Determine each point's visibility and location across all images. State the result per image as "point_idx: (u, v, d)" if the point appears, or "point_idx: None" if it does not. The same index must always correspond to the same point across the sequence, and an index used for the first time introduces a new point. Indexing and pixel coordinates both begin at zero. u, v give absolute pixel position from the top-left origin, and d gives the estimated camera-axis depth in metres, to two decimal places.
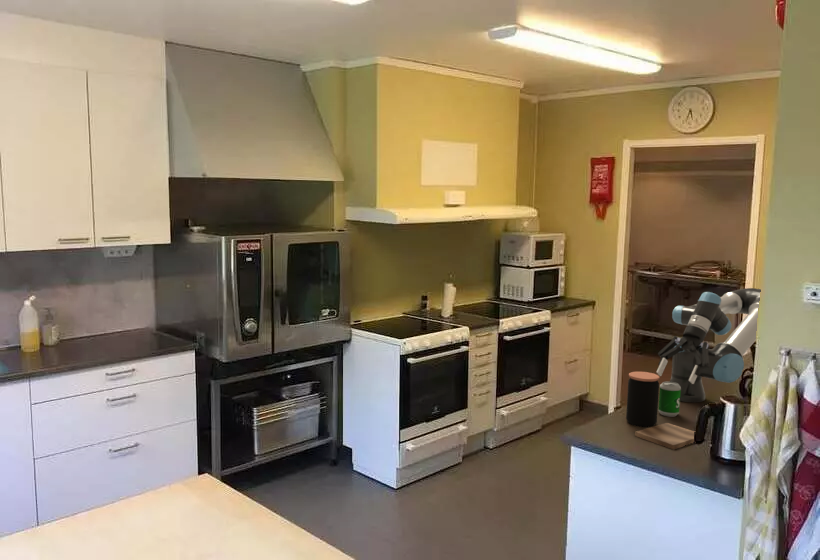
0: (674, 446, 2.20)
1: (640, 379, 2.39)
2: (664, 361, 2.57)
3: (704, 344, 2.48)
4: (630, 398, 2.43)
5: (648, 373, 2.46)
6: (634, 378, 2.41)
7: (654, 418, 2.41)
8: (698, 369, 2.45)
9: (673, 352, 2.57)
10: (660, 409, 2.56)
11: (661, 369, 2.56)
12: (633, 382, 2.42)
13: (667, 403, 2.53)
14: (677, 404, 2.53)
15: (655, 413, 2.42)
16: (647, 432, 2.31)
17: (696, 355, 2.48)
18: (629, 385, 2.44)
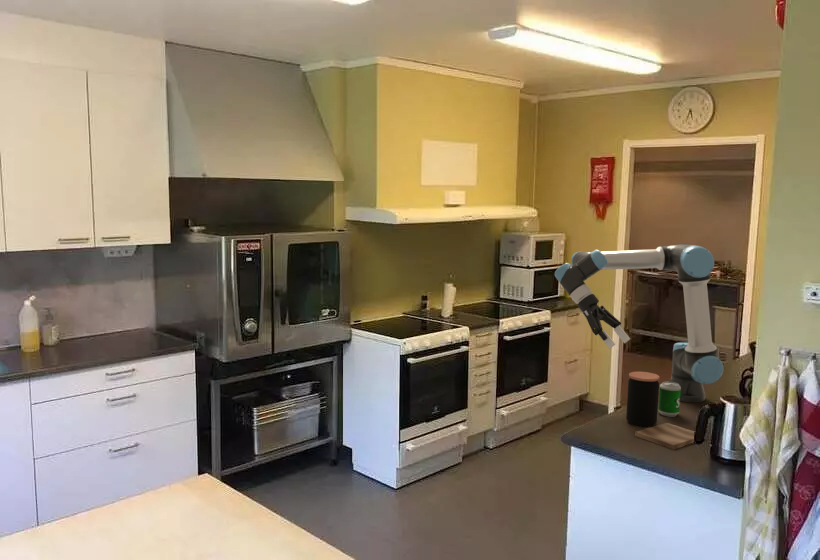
0: (674, 446, 2.20)
1: (640, 379, 2.39)
2: (616, 330, 2.56)
3: None
4: (630, 398, 2.43)
5: (648, 373, 2.46)
6: (634, 378, 2.41)
7: (654, 418, 2.41)
8: None
9: (608, 321, 2.56)
10: (660, 409, 2.56)
11: (623, 337, 2.55)
12: (633, 382, 2.42)
13: (667, 403, 2.53)
14: (677, 404, 2.53)
15: (655, 413, 2.42)
16: (647, 432, 2.31)
17: None
18: (629, 385, 2.44)
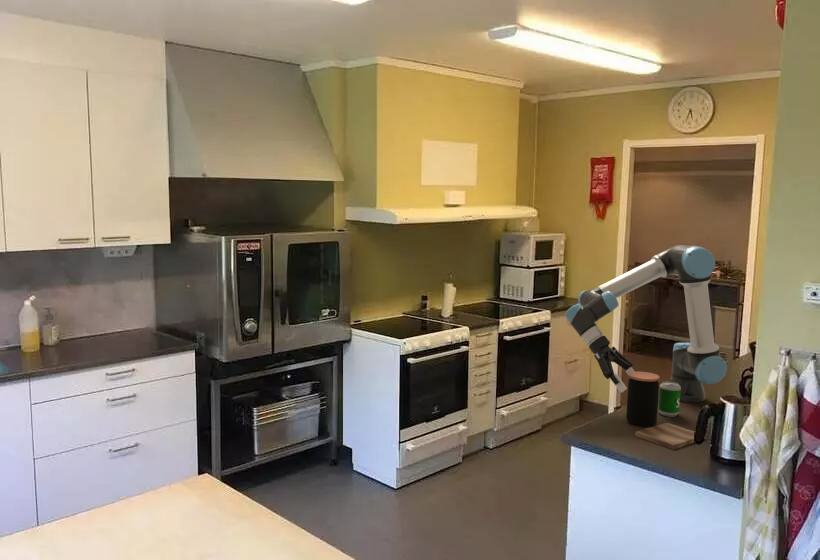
0: (674, 446, 2.20)
1: (640, 379, 2.39)
2: (628, 372, 2.53)
3: None
4: (630, 398, 2.43)
5: (648, 373, 2.46)
6: (634, 378, 2.41)
7: (654, 418, 2.41)
8: None
9: (619, 363, 2.54)
10: (660, 409, 2.56)
11: None
12: (633, 382, 2.42)
13: (667, 403, 2.53)
14: (677, 404, 2.53)
15: (655, 413, 2.42)
16: (647, 432, 2.31)
17: None
18: (629, 385, 2.44)
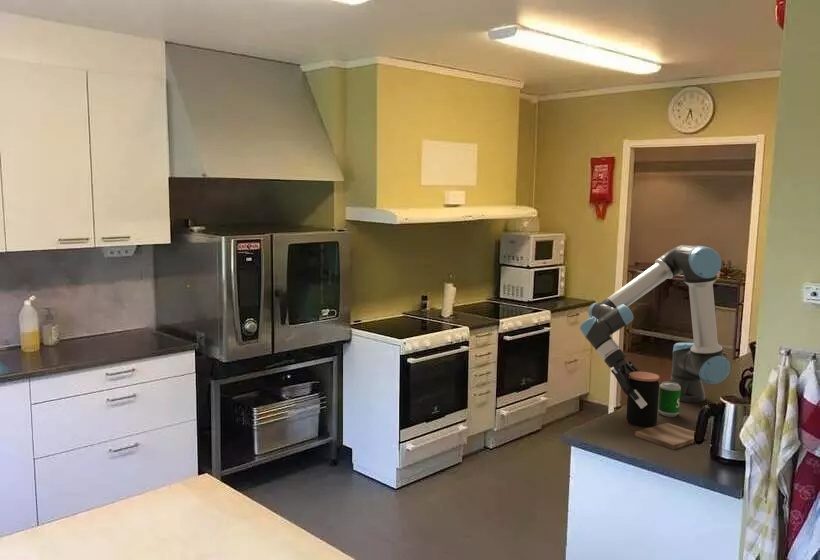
0: (674, 446, 2.20)
1: (640, 379, 2.39)
2: None
3: None
4: (630, 398, 2.43)
5: (648, 373, 2.46)
6: (634, 378, 2.41)
7: (654, 418, 2.41)
8: None
9: None
10: (660, 409, 2.56)
11: None
12: (633, 382, 2.42)
13: (667, 403, 2.53)
14: (677, 404, 2.53)
15: (655, 413, 2.42)
16: (647, 432, 2.31)
17: None
18: None
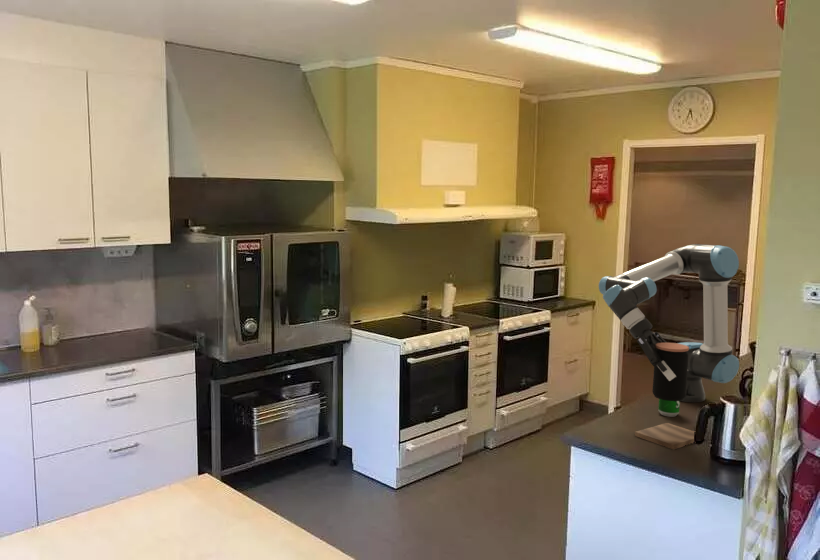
0: (674, 446, 2.20)
1: (668, 349, 2.24)
2: None
3: None
4: (657, 370, 2.28)
5: (676, 344, 2.31)
6: (662, 348, 2.26)
7: (683, 392, 2.26)
8: None
9: None
10: (660, 409, 2.56)
11: None
12: (660, 353, 2.26)
13: (667, 403, 2.53)
14: (677, 404, 2.53)
15: (684, 387, 2.26)
16: (647, 432, 2.31)
17: None
18: None
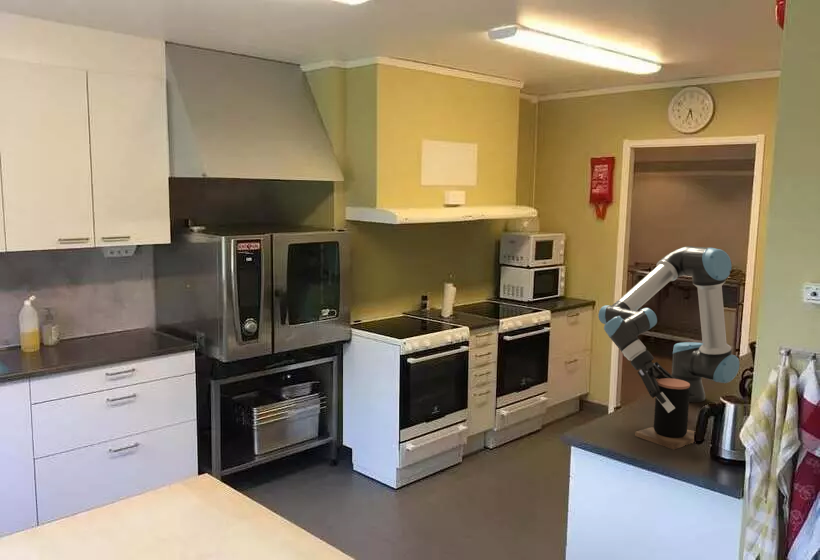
0: (674, 446, 2.20)
1: (670, 387, 2.24)
2: None
3: None
4: (658, 407, 2.28)
5: (677, 380, 2.31)
6: (663, 386, 2.26)
7: (684, 428, 2.26)
8: None
9: None
10: None
11: None
12: (662, 390, 2.27)
13: None
14: None
15: (686, 423, 2.27)
16: (647, 432, 2.31)
17: None
18: None
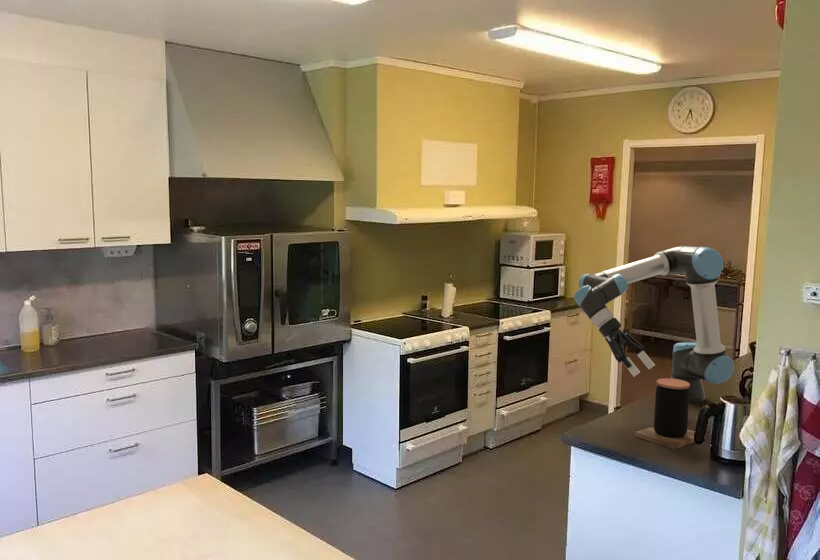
0: (674, 446, 2.20)
1: (669, 387, 2.25)
2: (640, 356, 2.42)
3: None
4: (658, 407, 2.28)
5: (677, 380, 2.31)
6: (663, 385, 2.26)
7: (684, 428, 2.26)
8: None
9: (631, 346, 2.42)
10: None
11: (647, 363, 2.41)
12: (662, 390, 2.27)
13: None
14: None
15: (686, 423, 2.27)
16: (647, 432, 2.31)
17: None
18: (657, 393, 2.29)
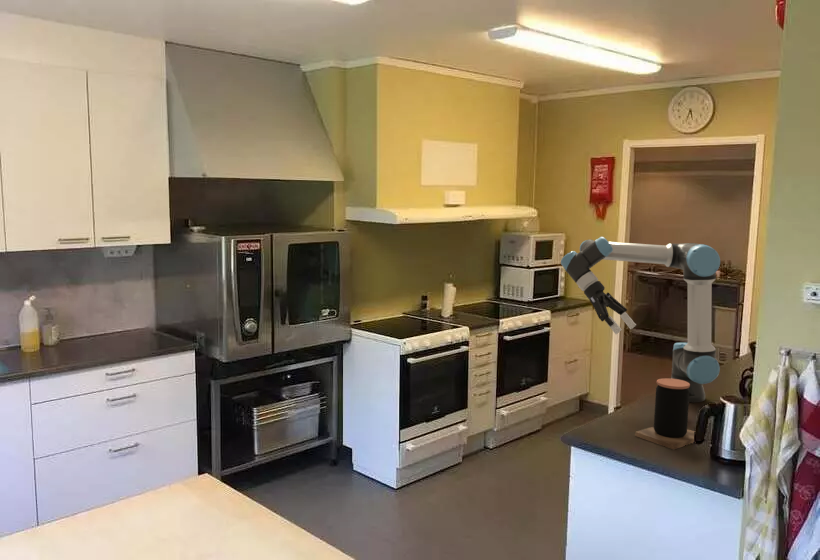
0: (674, 446, 2.20)
1: (669, 387, 2.25)
2: (623, 317, 2.59)
3: None
4: (658, 407, 2.28)
5: (677, 380, 2.31)
6: (663, 385, 2.26)
7: (684, 428, 2.26)
8: None
9: (614, 308, 2.60)
10: None
11: (629, 323, 2.58)
12: (662, 390, 2.27)
13: None
14: None
15: (686, 423, 2.27)
16: (647, 432, 2.31)
17: None
18: (657, 393, 2.29)
